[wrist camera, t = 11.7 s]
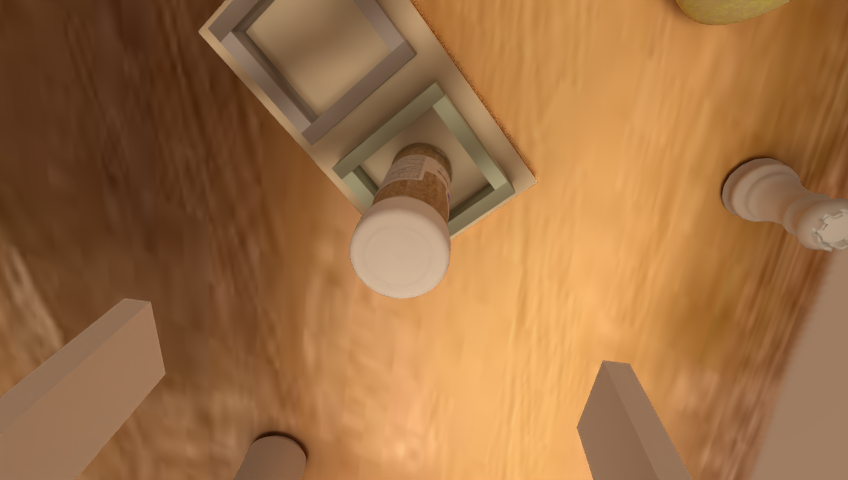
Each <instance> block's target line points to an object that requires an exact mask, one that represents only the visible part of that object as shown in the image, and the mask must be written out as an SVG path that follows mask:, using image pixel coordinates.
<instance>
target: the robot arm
mask: <svg viewBox="0 0 848 480" xmlns="http://www.w3.org/2000/svg"><path fill="white" fill-rule="evenodd" d="M164 375H165V369H164V364H163V359H162V354H161V350H160V345H159V340H158V335H157V330H156V325H155V321H154V316H153V311H152V306H151V302H149V301H142V300H134V299H126V298H124V299H123V300H122V301H120V302H119V303H118V304H117V305H115V306H114V307H113V308H111V309H110V310H109V311H108V312H106V313H105V314H104V315H103V316H101V317H100V318H99V319H98V320H96V321H95V322H94V323H93V324H91V325H90V326H89V327H88V328H86V329H85V330H84V331H83V332H81V333H80V334H79V335H78V336H76V337H75V338H74V339H73V340H71V341H70V342H69V343H68V344H66V345H65V346H64V347H63V348H61V349H60V350H59V351H58V352H56V353H55V354H54V355H53V356H51V357H50V358H49V359H48V360H46V361H45V362H44V363H43V364H41V365H40V366H39V367H38V368H36V369H35V370H34V371H33V372H31V373H30V374H29V375H28V376H26V377H25V378H24V379H23V380H21V381H20V382H19V383H18V384H16V385H15V386H14V387H13V388H11V389H10V390H9V391H7V392H6V393H5V394H4V395H2V396H1V397H0V480H76V478H77V477H78V476H79V475H80V474H81V472H82V471H83V470H84V469H85V468H86V467H87V465H88V464H89V463H90V462H91V461H92V460H93V458H94V457H95V456H96V455H97V454H98V452H99V451H100V450H101V449H102V448H103V447H104V445H105V444H106V443H107V442H108V441H109V440H110V438H111V437H112V436H113V435H114V434H115V432H116V431H117V430H118V429H119V428H120V427H121V425H122V424H123V423H124V422H125V421H126V420H127V418H128V417H129V416H130V415H131V414H132V412H133V411H134V410H135V409H136V408H137V407H138V405H139V404H140V403H141V402H142V401H143V400H144V398H145V397H146V396H147V395H148V394H149V392H150V391H151V390H152V389H153V388H154V387H155V385H156V384H157V383H158V382H159V381H160V380H161V378H162V377H163V376H164ZM577 429H578V433H579V436H580V439H581V442H582V445H583V448H584V451H585V454H586V457H587V461H588V464H589V467H590V470H591V473H592V476H593V479H594V480H692V478H691V476H690V474H689V472H688V471H687V469H686V467H685V465H684V463H683V461H682V460H681V458H680V456H679V454H678V452H677V450H676V448H675V447H674V445H673V443H672V441H671V439H670V437H669V436H668V434H667V432H666V430H665V428H664V426H663V425H662V423H661V421H660V419H659V417H658V415H657V414H656V412H655V410H654V408H653V406H652V404H651V402H650V401H649V399H648V397H647V395H646V393H645V391H644V390H643V388H642V386H641V384H640V382H639V380H638V379H637V377H636V375H635V373H634V371H633V369H632V368H631V366H630V364H627V363H619V362H611V361H604V360H603V362H602V364H601V367H600V369H599V372H598V375H597V377H596V380H595V382H594V385H593V387H592V390H591V392H590V395H589V398H588V400H587V403H586V405H585V408H584V410H583V413H582V416H581V418H580V421H579V423H578V426H577Z"/></svg>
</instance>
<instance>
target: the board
mask: <svg viewBox="0 0 848 480" xmlns="http://www.w3.org/2000/svg"><path fill="white" fill-rule="evenodd" d="M198 32H199V33H200V35H201V36H202V37H203V38H204V39H205V40H206V41H207V42H208V43H209V45H210V46H211V47H212V48H213V49H214V50H215V51H216V52H217V54H218V55H219V56H220V57H221V58H222V59H223V60H224V61H225V62H226V64H227V65H228V66H229V67H230V68H231V69H232V70H233V71H234V72H235V74H236V75H237V76H238V77H239V78H240V79H241V80H242V81H243V83H244V84H245V85H246V86H247V87H248V88H249V89H250V90H251V91H252V93H253V94H254V95H255V96H256V97H257V98H258V99H259V100H260V102H261V103H262V104H263V105H264V106H265V107H266V108H267V109H268V110H269V112H270V113H271V114H272V115H273V116H274V117H275V118H276V119H277V121H278V122H279V123H280V124H281V125H282V126H283V127H284V128H285V129H286V131H287V132H288V133H289V134H290V135H291V136H292V137H293V138H294V139H295V141H296V142H297V143H298V144H299V145H300V146H301V147H302V148H303V150H304V151H305V152H306V153H307V154H308V155H309V156H310V157H311V158H312V160H313V161H314V162H315V163H316V164H317V165H318V166H319V167H320V169H321V170H322V171H323V172H324V173H325V174H326V175H327V176H328V177H329V179H330V180H331V181H332V182H333V183H334V184H335V185H336V186H337V187H338V189H339V190H340V191H341V192H342V193H343V194H344V195H345V196H346V198H347V199H348V200H349V201H350V202H351V203H352V204H353V205H354V206H355V208H356V209H357V210H358V211H359V212H360V213H361V214H362V215H364V213H365V212H366V211H367V210H368V209H369V208H370V207H371V205H372V202H373V199H374V197H375V195H376V193H377V191H378V189H379V188H380V186H381V184H382V182H383V180H384V178H385V176H386V174H387V172H388V171H389V169H390V168H391V165H392V162H393V160H394V158H395V156H396V155H397V153H398V152H399V151H400V150H402V149H403V148H404V147H406V146H408V145H411V144H415V143H425V144H430V145H432V146H435V147H437V148H438V149H440V150H441V151H442V152H444V154H445V155H446V157H447V158H448V160H449V162H450V164H451V167H452V182H451V184H450V185H451V191H450V203H449V217H448V223H447V227H448V230H449V234H450V241H451V240H452V239H454V238H455V237H457V236H458V235H459V234H461V233H462V232H464V231H465V230H467V229H468V228H470V227H471V226H473V225H474V224H476V223H477V222H479V221H480V220H482V219H483V218H485V217H486V216H488V215H489V214H491V213H492V212H494V211H495V210H497V209H498V208H500V207H501V206H503V205H504V204H506V203H507V202H509V201H510V200H512V199H513V198H515V197H516V196H518V195H519V194H521V193H522V192H524V191H525V190H527V189H528V188H530V187H531V186H533V185H534V184H536V183H537V180H536V178H535V177H534V175H533V174H532V173H531V171H530V170H529V168H528V167H527V165H526V164H525V163H524V161H523V160H522V158H521V157H520V156H519V154H518V153H517V151H516V150H515V148H514V147H513V146H512V144H511V143H510V141H509V140H508V138H507V137H506V136H505V134H504V133H503V131H502V130H501V129H500V127H499V126H498V124H497V123H496V121H495V120H494V119H493V117H492V116H491V114H490V113H489V112H488V110H487V109H486V107H485V106H484V104H483V103H482V102H481V100H480V99H479V97H478V96H477V94H476V93H475V92H474V90H473V89H472V87H471V86H470V85H469V83H468V82H467V80H466V79H465V77H464V76H463V75H462V73H461V72H460V70H459V69H458V67H457V66H456V65H455V63H454V62H453V60H452V59H451V58H450V56H449V55H448V53H447V52H446V50H445V49H444V48H443V46H442V45H441V43H440V42H439V41H438V39H437V38H436V36H435V35H434V33H433V32H432V31H431V29H430V28H429V26H428V25H427V23H426V22H425V21H424V19H423V18H422V16H421V15H420V14H419V12H418V11H417V9H416V8H415V6H414V5H413V4H412V2H411V1H410V0H225V1H224V3H223V4H222V5H221V6H220V7H219V8H218V9H217V11H216V12H215V13H214V14H213V15H212V16H211V17H210V19H209V20H208V21H207V22H206V23H205V24H204V25H203V27H202V28H201V29H200V30H199V31H198Z"/></svg>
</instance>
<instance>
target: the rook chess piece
mask: <svg viewBox="0 0 848 480" xmlns="http://www.w3.org/2000/svg"><path fill="white" fill-rule="evenodd" d="M722 199H723V203H724V206H725V208H726V209H728V210H729V211H730V212H731V213H732V214H734V215H738V216H739V217H740V218H743V219H747V220H750V221H755V222H757V221H773V222H776V223H779V224H781V225H783V226H784V229H785V230H787V231H788V232H789V233H790V234H793V235H797V238H798V241H799V242H800V243H801V244H802V245H803V246H804V247H806V248H810V249H813V250H820V249H823V250H826V251H830V252H831V251H832V249H833V247H834V248H836V249H838V250H840V251H841V250H844V249H846V248H848V243H846V242H847V241H848V200H847V199H843V198H837V199H831V198H830V197H829V196H828V195H825V194H821V193H812V192H810V191H809V190H807V189H806V188H804V187H803V186H802V184H801V181H800V180H799V177H798V175H797V174H796V173H795V172H794V171H793V170H792V169H791V168H790V167H789V166H788V165H785V164H782V163H781V162H780V161H778V160H774V159H771V158H763V159H754V160H752V161H750V162H748V163H746V164H743V165H741V166H740V167H739V168H738V169H736V170H735V171H734V172H733V173H732V174H731V175H730V176H729V178H728V180H727V181H726V183H725V185H724V188H723V194H722Z"/></svg>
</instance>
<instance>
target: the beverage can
mask: <svg viewBox="0 0 848 480" xmlns="http://www.w3.org/2000/svg"><path fill="white" fill-rule="evenodd" d="M305 467H306V456H305V454H304V452H303V451H302V449H301V448H300V446H299V445H298V444H297V443H296V442H295V441H293V440H292V439H290V438H287V437H284V436H277V435H275V436H269V437H264V438H260V439H258V440H256V441H255V442H254V443H253V444H252V445H251V447H250V448H249V450H248V452H247V454H246V456H245V458H244V460H243V462H242V464H241V466H240V468H239V470H238V472H237V474H236V476H235V478H234V480H301V478H302V475H303V472H304V469H305Z"/></svg>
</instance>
